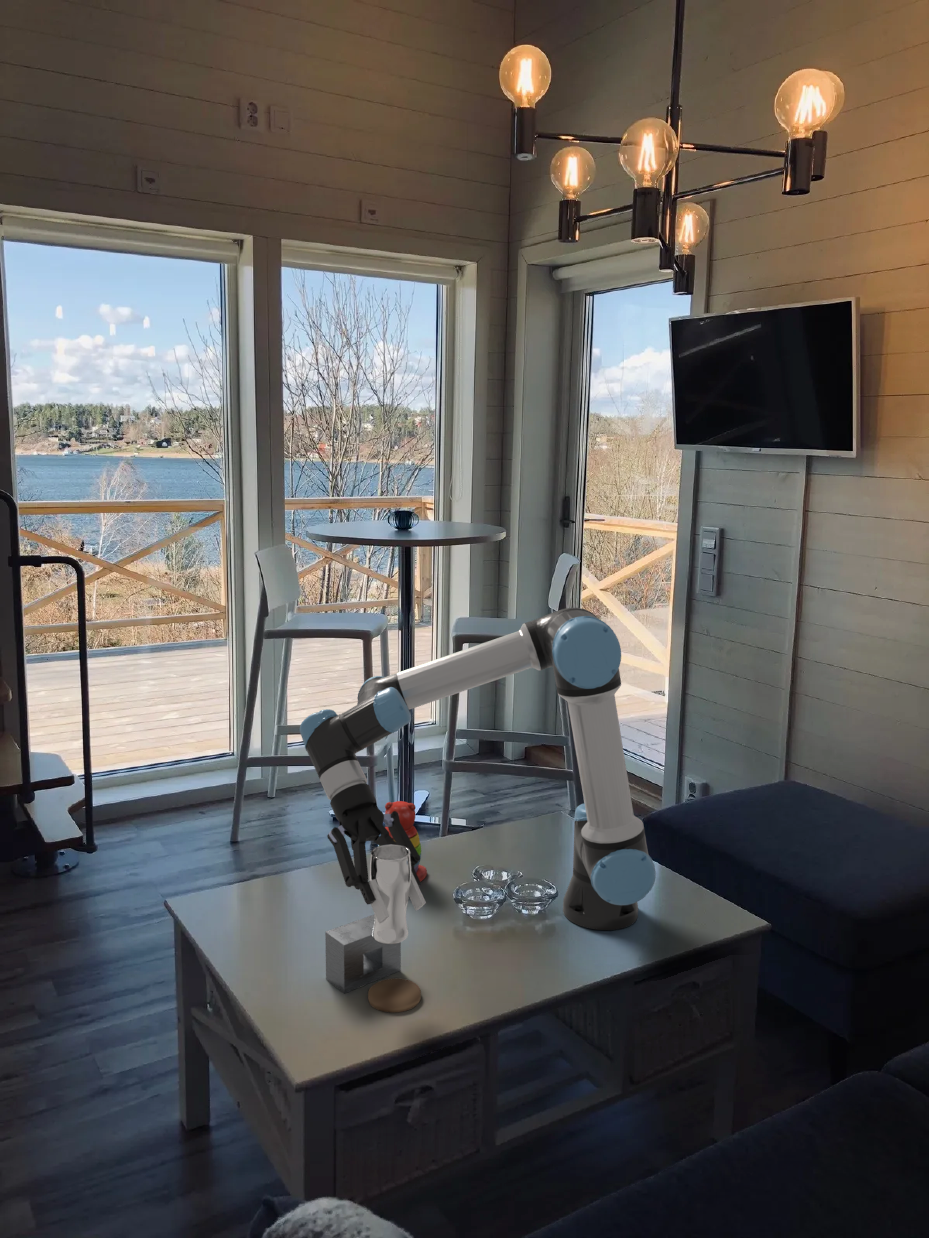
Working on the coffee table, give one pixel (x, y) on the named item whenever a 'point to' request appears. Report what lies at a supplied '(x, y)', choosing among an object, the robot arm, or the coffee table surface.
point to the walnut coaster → (394, 995)
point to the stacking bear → (408, 829)
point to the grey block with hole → (358, 955)
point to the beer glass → (391, 890)
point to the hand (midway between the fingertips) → (402, 912)
